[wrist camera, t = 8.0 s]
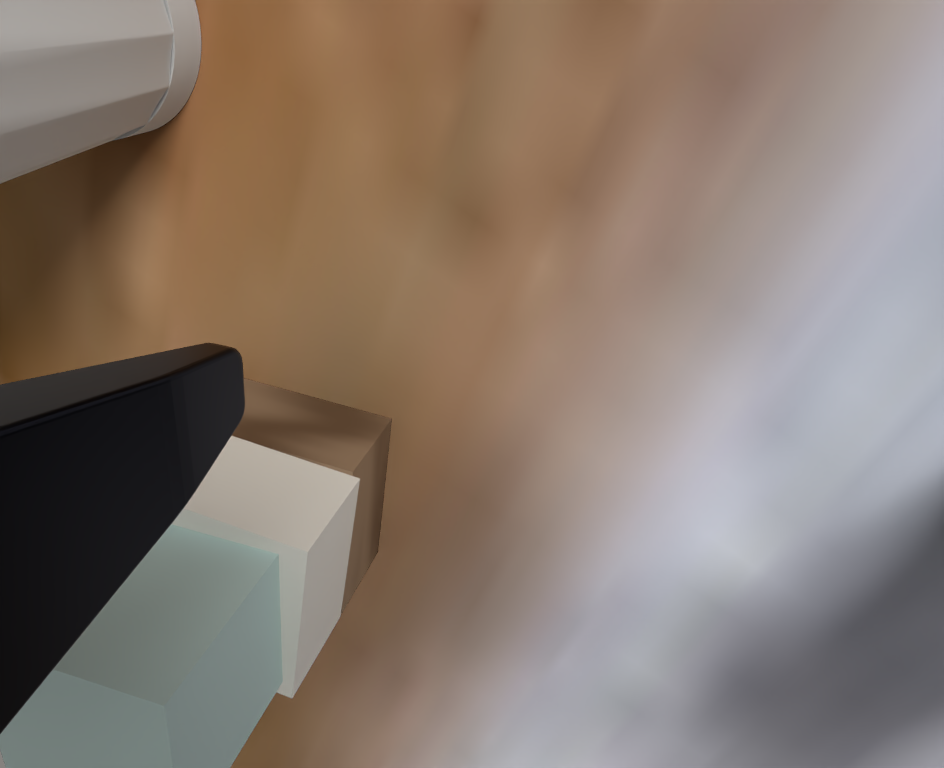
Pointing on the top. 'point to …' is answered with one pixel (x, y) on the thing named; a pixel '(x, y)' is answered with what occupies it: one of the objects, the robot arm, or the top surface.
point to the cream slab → (284, 536)
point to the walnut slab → (327, 454)
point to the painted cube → (163, 665)
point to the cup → (90, 74)
